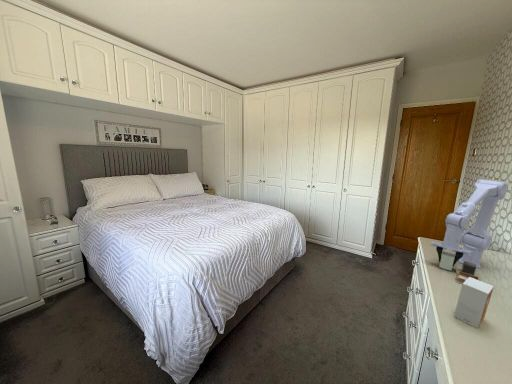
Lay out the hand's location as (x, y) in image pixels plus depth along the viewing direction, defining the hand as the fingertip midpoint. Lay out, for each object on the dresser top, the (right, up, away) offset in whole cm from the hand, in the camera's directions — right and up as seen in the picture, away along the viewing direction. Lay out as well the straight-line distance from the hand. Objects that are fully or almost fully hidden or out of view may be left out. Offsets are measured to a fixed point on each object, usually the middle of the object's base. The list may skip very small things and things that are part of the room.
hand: (446, 263), depth 106 cm
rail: (+3, -4, -8) cm, 9 cm away
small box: (-21, -8, -32) cm, 39 cm away
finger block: (0, -2, 0) cm, 2 cm away
